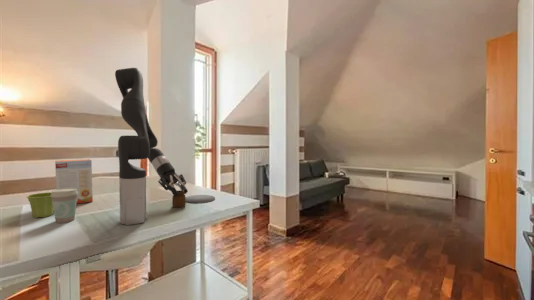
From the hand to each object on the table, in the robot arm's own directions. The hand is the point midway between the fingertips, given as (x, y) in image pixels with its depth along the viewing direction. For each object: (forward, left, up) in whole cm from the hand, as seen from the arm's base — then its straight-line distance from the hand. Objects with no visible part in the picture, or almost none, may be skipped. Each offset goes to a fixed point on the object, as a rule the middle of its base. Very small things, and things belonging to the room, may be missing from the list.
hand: (181, 193), depth 125 cm
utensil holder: (+1, +1, -6) cm, 7 cm away
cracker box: (+32, +42, -6) cm, 53 cm away
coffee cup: (+2, +44, -6) cm, 44 cm away
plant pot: (+14, +52, -6) cm, 54 cm away
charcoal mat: (+9, -12, -6) cm, 16 cm away
